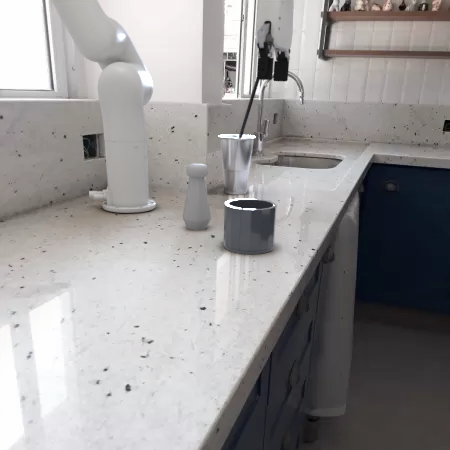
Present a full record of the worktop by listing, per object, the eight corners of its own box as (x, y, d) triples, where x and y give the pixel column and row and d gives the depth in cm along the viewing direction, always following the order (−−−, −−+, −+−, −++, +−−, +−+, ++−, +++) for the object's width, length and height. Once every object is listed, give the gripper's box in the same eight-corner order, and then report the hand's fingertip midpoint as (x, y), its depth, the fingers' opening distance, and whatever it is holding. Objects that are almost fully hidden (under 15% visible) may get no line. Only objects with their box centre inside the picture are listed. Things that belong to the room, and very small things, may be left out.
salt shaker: (189, 232, 97) (189, 166, 92) (178, 226, 102) (177, 162, 97) (215, 229, 100) (216, 165, 95) (203, 223, 105) (204, 161, 99)
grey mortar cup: (228, 255, 85) (230, 210, 82) (220, 240, 93) (221, 198, 90) (279, 253, 86) (282, 209, 83) (266, 239, 95) (268, 198, 91)
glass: (253, 197, 131) (259, 76, 119) (213, 195, 133) (215, 75, 121) (259, 190, 141) (265, 77, 129) (221, 188, 143) (224, 76, 131)
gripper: (276, -6, 105) (270, 81, 111) (244, -22, 90) (240, 78, 97) (309, -7, 102) (301, 82, 109) (282, -25, 87) (275, 79, 94)
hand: (272, 80), depth 103 cm, fingers open, 9 cm apart
